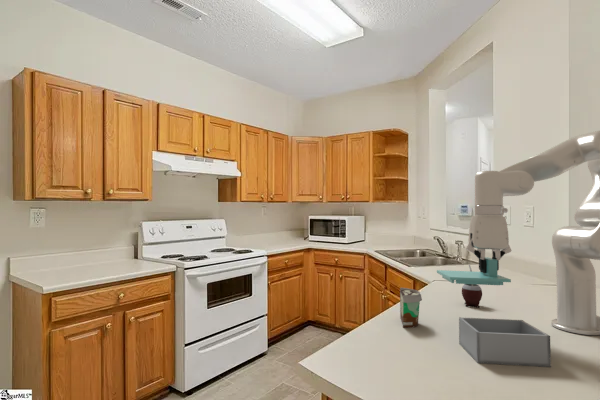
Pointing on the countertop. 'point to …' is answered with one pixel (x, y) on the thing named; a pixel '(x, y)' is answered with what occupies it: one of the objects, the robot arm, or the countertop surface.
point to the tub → (504, 342)
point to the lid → (476, 275)
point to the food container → (409, 307)
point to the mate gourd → (472, 294)
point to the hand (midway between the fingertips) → (488, 272)
